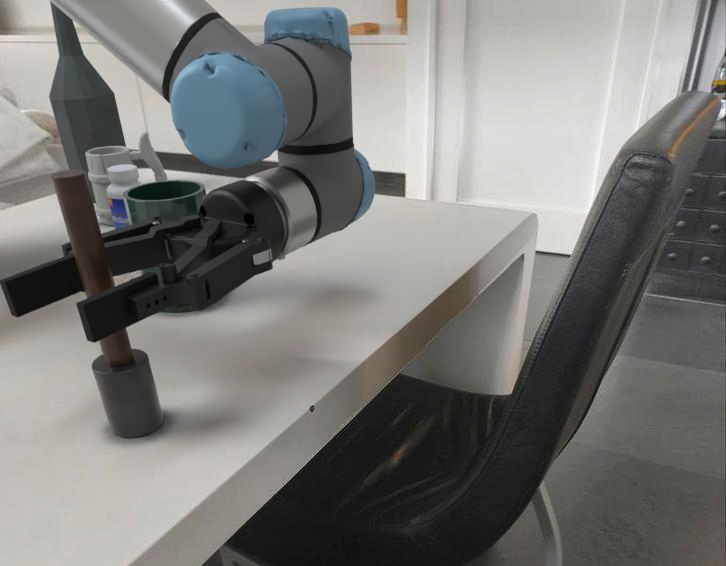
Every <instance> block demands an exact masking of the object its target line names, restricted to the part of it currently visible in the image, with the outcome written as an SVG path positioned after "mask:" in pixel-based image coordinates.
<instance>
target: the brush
mask: <svg viewBox="0 0 726 566" xmlns="http://www.w3.org/2000/svg"><path fill="white" fill-rule="evenodd" d="M50 177H51V181H52V184H53V187H54V191H55V194H56V198H57V202H58V204H59V208H60V212H61V215H62V218H63V222H64V226H65V228H66V232H67V235H68V239H69V242H70V243H71V246H72V249H73V253H74V256H75V260H76V263H77V267H78V270H79V273H80V277H81V280H82V284H83V287H84V291H85V292H84V294H85V298H86V299H87V298H89V297H91V296H94V295H96V294H98V293H101V292H103V291H106V290H108V289H110V288H113V287H115V286H116V284H115V281H114V277H113V276H112V272H111V269H110V265H109V261H108V257H107V253H106V249H105V246H104V242H103V238H102V234H101V233H102V231H101V227H100V224H99V219H98V215H97V214H96V211H95V204H94V203H93V200H92V196H91V192H90V189H89V185H88V181H87V177H86V173H85V171H83V170H69V169H65V170H60V171H56V172H54V173H52V174H51V175H50ZM128 333H129V332H128V330H127V327H126V328H124V329H122V330H120V331H118V332H116V333H114V334H112V335H110V336H108V337H106V338H104V339H102V340H99V341H98V342H99V345H100V348H101V352H102V353H101V354H100V355H99V356H97V357H95V359H93V361H92V363H91V370H92V373H93V376H94V380H95V383H96V385H97V389H98V393H99V395H100V399H101V402H102V405H103V408H104V412H105V415H106V420H107V422H108V425H109V428H110V431H111V432H112V433H113V434H114V435H115V436H118V437H120V438H127V439H129V438H139V437H143V436H146V435H149V434H151V433H153V432H155V431H158V429H160V427H161V426H162V425H163V423H164V415H163V412H162V407H161V403H160V398H159V395H158V390H157V386H156V383H155V379H154V375H153V369H152V366H151V361H150V357H149V355H148V353H147V352H145V351H144V350H142V349H138V348H132V345H131V342H130V341H131V340H130V338H129V334H128Z"/></svg>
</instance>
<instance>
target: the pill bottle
mask: <svg viewBox="0 0 726 566" xmlns="http://www.w3.org/2000/svg"><path fill="white" fill-rule="evenodd" d="M107 173H108V177H109V180H110V181H111V184H110V185H109V186H108V187H107V190H106V192H107V197H108V201H109V205H110V209H111V214H112V218H113V222H114V230H115V229H118V228H122V227H125V226H129V220H128V216H127V212H126V208H125V203H124V199H123V193H124V192H125V191H126V190H127V189H130V188H132V187H134V186H138V185H141V184H144V183H143V181H139V178H140V174H139V169H138V166H137V165H135V164H133V165H116V166H112V167H109V168H108V169H107Z"/></svg>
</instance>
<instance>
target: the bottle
mask: <svg viewBox="0 0 726 566" xmlns="http://www.w3.org/2000/svg"><path fill="white" fill-rule="evenodd" d="M49 3H50V9H51V15H52V20H53V26H54V27H53V28H54V33H55V38H56V44H57V51H58V60H57V63H56V67H55V71H54V75H53V79H52V82H51V87H50V89H49V90H50V91H49V95H48V98H49V102H50V106H51V109H52V113H53V116H54V120H55V124H56V127H57V130H58V131H57V132H58V134H59V138H60V142H61V145H62V149H63V152H64V156H65V161H66V163H67V166H68V170H83V171H85V173H86V177H87V181H88V185H89V189H90V192H91V196H92V200H93V204H94V203H96V200H95V196H94V191H93V187H92V182H91V181H90V180H89V177H88V172H89V169H88V164H87V160H86V155H85V153H86V152H88V151H89V150H91V149H94V148H98V147H107V146H112V147H113V146H124V147H127V144H126V139H125V135H124V131H123V126H122V121H121V117H120V114H119V109H118V105H117V100H116V95H115V92H114V91H113V90H112V88H111V86H109V85H108V84H107V82H106V81H105V79H104V78H103V77H102V75H101V74H100V73H99V72H98V71H97V69H96V68H95V66H93V64H92V63H91V61H90V60H89V59H88V58H87V56H86V55H85V54H84V50H83V47H82V45H81V42H80V38H79V35H78V32H77V30H76V27H75V24H74V23H75V22H74V21H73V20H72V19H71V18H70V17H68V16H67V15H66V14H65V13H64V12H63V11H61V10H60V9H59V8H58V7H57V6H56V5H54V4H53V3H52V2H51V1H50V0H49Z"/></svg>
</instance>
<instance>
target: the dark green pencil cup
mask: <svg viewBox="0 0 726 566" xmlns="http://www.w3.org/2000/svg"><path fill="white" fill-rule="evenodd" d="M206 195H207V191H206V186H205V184H203V183H202V182H200V181H196V180H190V179H188V180H187V179H168V180H166V181H156V180H155V181H152V182H146V183H143V184H141V185H138V186H134V187H132V188H130V189H127V190H126V191H125V192H124V193H123V199H124V203H125V208H126V212H127V216H128V220H129V225H133V224H136V223H139V222H141V221H143V220H145V219H148V218H150V217H152V216H155V215H157V216H161V217H162V219H163V224H167V223H172V222H176V221H178V220H179V219H180V218H182V217H186V216H191V215H197V214H198V212H199V209H200V206H201V204H202V201H203V199H204V198H205V196H206ZM166 250H167V255H168V259H170V258H172V257H171V256H170V253H169V248H168V245H167V246H166ZM148 272H153V273H157V276H158V281H159V282H161V281H162V276H161V271H160V267H159V266H157V267H152V268H148V269H144V270H140V276H141V275H143V274H146V273H148ZM204 286H205V291H206V285H205V284H204ZM215 303H217V302H215ZM215 303H214V304H215ZM193 311H194V310H193V309H192V307H191V304H189V303H186V304H185V305H184V306H183V307H181V308H177V309H172V308H169V307H167V308H165V309H164V310H162V311H161V312H165V313H185V312H193Z"/></svg>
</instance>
